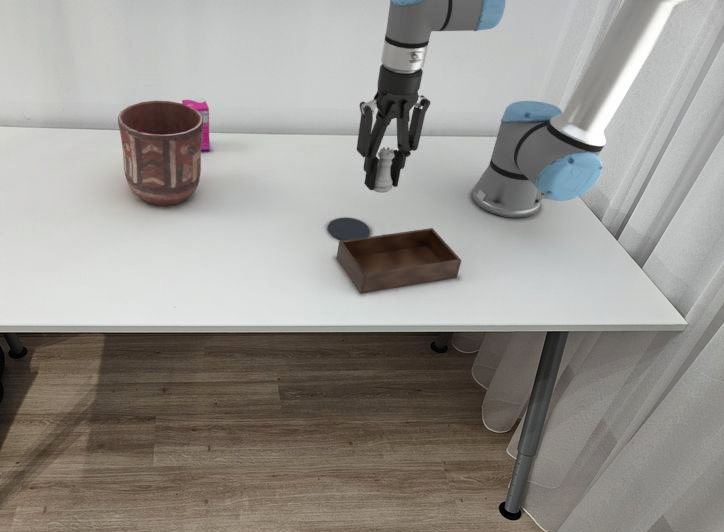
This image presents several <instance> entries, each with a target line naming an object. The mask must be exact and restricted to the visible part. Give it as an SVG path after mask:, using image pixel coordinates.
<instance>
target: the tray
mask: <svg viewBox="0 0 724 532" xmlns="http://www.w3.org/2000/svg"><path fill="white" fill-rule="evenodd" d="M335 258H336V260H337V262H338V264H339V265H340V266H341V267H342V269H343V271H344V272H345V273H346V275H347V277H348V278H349V280H350V281H351V282H352V284H353V285H354V286H355V288H356V289H357V291H358V293H359V294H361V295H362V294H367V293H373V292H374V293H375V292H379V291H386V290H392V289H398V288H404V287H405V288H406V287H410V286H416V285H422V284H427V283H428V284H429V283H433V282H434V283H435V282H440V281H447V280H452V279H457V278H458V276H459V272H460V268H461V264H462V259H461V258H460V257H459V256H458V254H456V253H455V251H454V250H453V249H452V248H451V246H449V245H448V244H447V243H446V242H445V240H444V239H443V238H442V236H440V234H438V232H437V231H436V230H435V229H434V228H433V227H429V228H428V227H427V228H421V229H415V230H408V231H402V232H394V233H387V234H379V235H373V236H368V237H365V238H358V239H351V240H344V241H342V240H339V241H338V246H337V252H336V257H335Z"/></svg>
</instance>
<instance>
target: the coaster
mask: <svg viewBox="0 0 724 532" xmlns="http://www.w3.org/2000/svg"><path fill="white" fill-rule="evenodd" d="M327 231H328V233H329V234H330V236H332V237H333V238H335V239H337V240H339V241H344V240H351V239H358V238H365V237H369V236H370V231H371V230H370V227H369V226H368V224H366V223H365V222H363V221H362V220H360V219H357V218H352V217H338V218H335V219H333V220H331V221H330V222H329V223H328V225H327Z"/></svg>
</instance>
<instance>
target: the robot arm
mask: <svg viewBox="0 0 724 532" xmlns="http://www.w3.org/2000/svg"><path fill="white" fill-rule="evenodd" d="M689 1H690V0H623V2H622V4H621V6H620V8H619V9H618V10H617V13H616V15H615V17H614V19H613V20H612V22H611V24H610V26H609V27H608V29H607V31H606V33H605V34H604V37H603V38H602V41H601V42H600V44H599V46H598V48H597V50H596V52H595V53H594V55H593V57H592V59H591V60H590V62H589V64H588V66H587V68H586V70H585V72H584V73H583V76H582V77H581V79H580V81H579V83H578V85H577V86H576V88H575V89H574V92H573V94H572V95H571V97H570V99H569V100H568V103H567V105H566V107H565V108H564V110H562V109H561V108H560V107H559V106H557V105H554V104H551V103H547V102H543V101H535V100H521V101H520V100H519V101H514V102H512V103H510V104H508V105H507V106H506V107H505V110H504V112H503V115H502V117H501V119H500V125H499V128H498V132H497V136H496V139H495V143H494V145H493V150H492V154H491V157H490V161H489V164H488V165H487V167H486V169H485V171H484V172H483V173H482V175H481V176H480V178H479V179H478V181H477V182H476V183H475V185H474V188H473V191H472V200H473V202H474V203H475V204H476V205H477V206H478V207H480V209H483V210H484V211H486V212H488V213H490V214H493V215H496V216H500V217H505V218H510V219H511V218H513V219H521V218H527V217H531V216H533V215H535V214H536V213H537V212H538V211H539V209H540V206H541V203H542V196H546V197H547V198H548V199H550V200H551V201H555V202H567V201H572V200H574V199H576V198H578V197H581V196H583V195H584V194H586V193H587V192H589V191H590V190H592V188H594V186H595V185H596V184H597V183H598V181H599V180H600V178H601V175H602V173H603V162H602V159H601V158H600V153H602V150H603V149H604V146H605V145H606V143H607V140H606V136H605V130H606V128H607V126H608V125H609V123H610V122H611V120H612V118H613V116H614V115H615V114H616V112H617V109H618V108H619V106H620V104H621V103H622V101H623V100H624V97H625V96H626V94H628V93H627V92H628V91H629V89H630V88H631V86H632V84H633V83H634V81H635V79H636V78H637V76H638V74H639V72H640V71H641V69H642V67H643V66H644V64H645V62H646V60H647V59H648V57H649V55H650V54H651V52H652V51H653V49H654V47H655V46H656V44H657V42H658V40H659V39H660V37H661V35H662V33H663V32H664V30H665V28H666V27H667V25H668V23H669V22H670V20H671V18H672V17H673V15H674V13H675V11H676V9H677V8H678V7H679V6H680V5H682V4H684V3H687V2H689ZM505 8H506V0H389V8H388V16H387V23H386V29H385V36H384V41H383V46H382V51H381V58H380V62H381V65H380V66H379V71H378V78H377V91H376V93H375V95H374V97H373V99H371V100H369V101H368V102H366V101H360V102H359V111H360V121H359V129H358V136H357V144H356V152H357V153H358V154H359V155H360V156H361V157H363V158H364V161H363V171H364V172H365V177H364V185H365V186H366V187H367V188H368V190H369V191H374V186H375V180H376V174H377V168H378V162H379V157H378V153H379V150H380V146H381V144H382V141H383V138H384V136H385V133H386V131H387V129H388V127H389V126H390V125H391V123H392V120H394V119H396V143H397V145H396V146H397V149H393V151H394V152H393V153H394V155H395V157H394V158H393V159H392V164H391V167H390V176H391V179H392V181H393V183H392V187H393V188H395V187H396V188H397V187H398V185H399V181H400V175H401V170H403V169H405V166H406V162H407V158H408V157H410V156H411V154H412V151H413V152H415V151H417V150H418V148H419V145H420V139H421V135H422V130H423V127H424V121H425V118H426V117H425V116H426V113H427V111H428V109H429V108H430V105H431V101H430V99H428V98H427V97H426V96H425V95H422V94H421V95H419V91H420V88H421V83H422V78H423V73H424V70H423V68H424V66H425V62H426V56H427V53H428V47H429V43H430V39H431V35H432V32H458V31H459V32H469V31H470V32H471V31H474V32H478V31H485V30H491V29H492V30H493V29H494V28H495V27H497V26H498V25H499V24H500V22H501V20H502V18H503V17H504V12H505ZM376 108H377V109H376ZM375 110H377V111H376V114H375ZM411 110H412V113H411V116H410V111H411ZM374 115H375V121H374V124H373V120H374ZM410 117H411V118H410ZM409 122H410V124H409Z"/></svg>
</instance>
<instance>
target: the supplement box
mask: <svg viewBox="0 0 724 532" xmlns="http://www.w3.org/2000/svg"><path fill="white" fill-rule="evenodd" d="M181 104H184V105H187V106H190V107H192V108H194V109H195V110H197V111H198V112H200V114H201V116H202V117H203V128H202V137H201V153H205V152H210V108H209V105H208V103H207V101H206V99H205V97H201V98H189V99H187V98H186V99H182V100H181Z"/></svg>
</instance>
